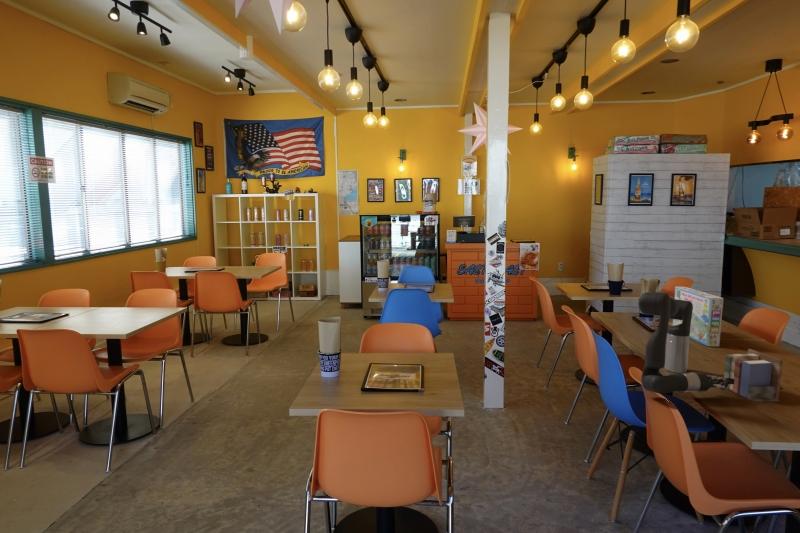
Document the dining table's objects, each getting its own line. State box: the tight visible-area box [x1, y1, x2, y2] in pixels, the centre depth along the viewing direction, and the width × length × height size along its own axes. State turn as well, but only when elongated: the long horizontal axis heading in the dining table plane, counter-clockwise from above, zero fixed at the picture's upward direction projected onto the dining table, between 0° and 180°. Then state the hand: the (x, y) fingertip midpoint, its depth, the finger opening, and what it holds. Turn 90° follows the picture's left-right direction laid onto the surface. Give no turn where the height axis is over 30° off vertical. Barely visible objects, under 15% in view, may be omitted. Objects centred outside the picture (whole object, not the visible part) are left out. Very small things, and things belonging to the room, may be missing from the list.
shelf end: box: [723, 348, 784, 403], centre depth 217 cm, size 12×18×16 cm, turn 6°
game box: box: [671, 286, 725, 347], centre depth 306 cm, size 40×7×27 cm, turn 178°
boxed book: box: [739, 360, 772, 399], centre depth 214 cm, size 10×4×14 cm, turn 99°
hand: (733, 380), depth 213 cm, fingers closed
